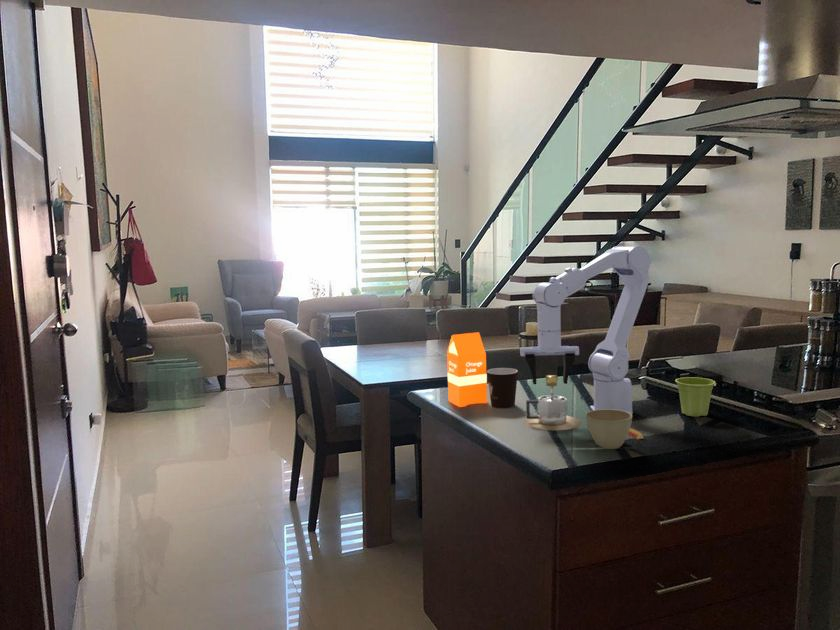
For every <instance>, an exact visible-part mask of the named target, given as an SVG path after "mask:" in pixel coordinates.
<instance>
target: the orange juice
mask: <svg viewBox="0 0 840 630" xmlns="http://www.w3.org/2000/svg"><path fill="white" fill-rule="evenodd" d="M446 359H447V360H446V361H447V364H446V365H447V366H446V367H447V390H448V391H447V392H448V394H447V395H448V402H449V403H451V404H452V405H454V406H457V407H458V408H463V407H467V406H468V405H474V404H488V391H487V389H488V387H487V385H488V378H487V353H486V351H485V347H484V344H483V341H482V337H481V334H480V332H479V331H478V332H467V333H460V334H452V335H451V338H450V341H449V344H448V348H447V351H446Z"/></svg>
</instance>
